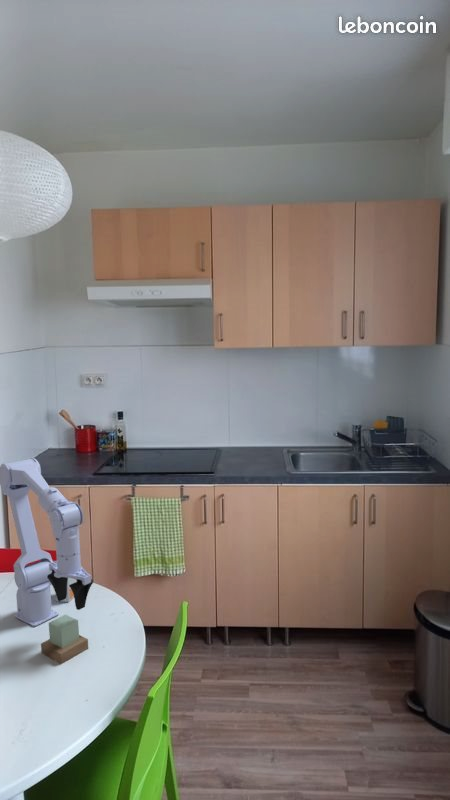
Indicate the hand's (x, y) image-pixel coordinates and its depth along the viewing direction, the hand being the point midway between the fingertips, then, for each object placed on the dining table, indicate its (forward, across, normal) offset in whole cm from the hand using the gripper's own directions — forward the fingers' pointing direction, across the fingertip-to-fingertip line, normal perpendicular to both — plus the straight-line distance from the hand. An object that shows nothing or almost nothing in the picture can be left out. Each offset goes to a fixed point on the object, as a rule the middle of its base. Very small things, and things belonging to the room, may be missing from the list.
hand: (71, 603), depth 142 cm
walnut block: (+11, +2, -4) cm, 12 cm away
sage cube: (+8, +1, -4) cm, 9 cm away
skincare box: (+11, -22, +14) cm, 28 cm away
